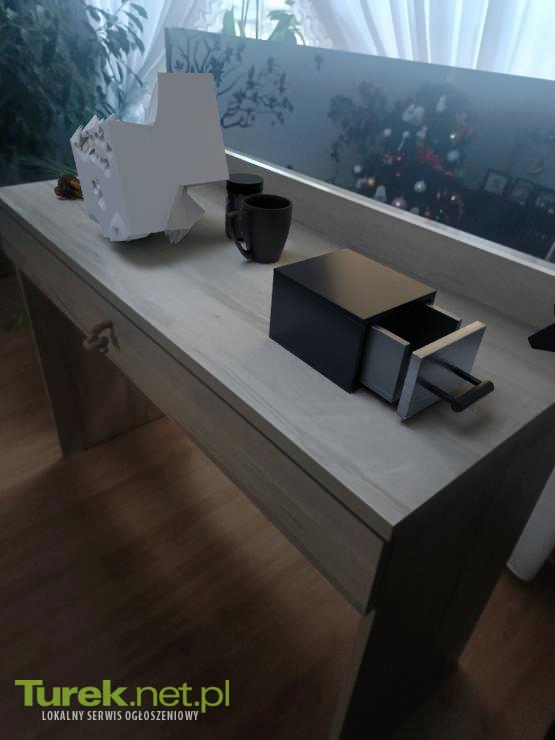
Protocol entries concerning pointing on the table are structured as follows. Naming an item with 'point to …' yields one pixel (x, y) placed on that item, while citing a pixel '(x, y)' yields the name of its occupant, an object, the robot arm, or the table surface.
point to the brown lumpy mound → (68, 186)
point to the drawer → (422, 359)
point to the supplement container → (240, 197)
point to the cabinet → (336, 309)
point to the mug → (262, 226)
